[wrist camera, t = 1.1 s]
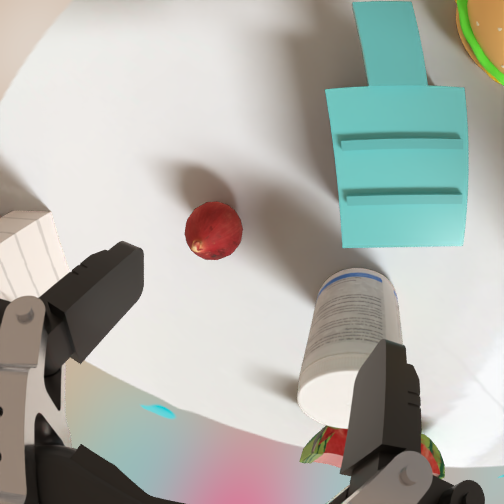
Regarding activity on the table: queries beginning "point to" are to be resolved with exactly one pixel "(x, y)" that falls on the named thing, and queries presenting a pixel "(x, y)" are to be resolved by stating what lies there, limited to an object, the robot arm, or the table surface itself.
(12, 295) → the pizza boxes
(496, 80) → the hamburger
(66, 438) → the robot arm
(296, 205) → the table surface
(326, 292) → the supplement tub
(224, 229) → the red round fruit
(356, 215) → the lid
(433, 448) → the fruit slice
